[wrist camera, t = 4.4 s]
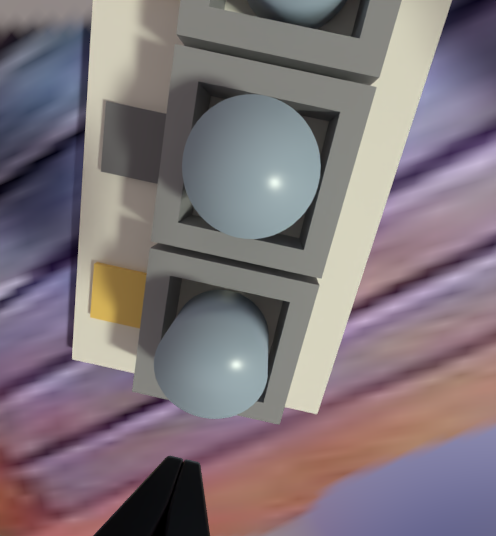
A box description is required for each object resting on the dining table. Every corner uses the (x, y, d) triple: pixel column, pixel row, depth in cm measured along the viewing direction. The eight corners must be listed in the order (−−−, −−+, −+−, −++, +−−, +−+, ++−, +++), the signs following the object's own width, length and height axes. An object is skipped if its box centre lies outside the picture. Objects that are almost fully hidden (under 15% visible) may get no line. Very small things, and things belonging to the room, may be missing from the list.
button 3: (278, 301, 15) (279, 332, 12) (257, 383, 16) (254, 429, 13) (182, 280, 15) (161, 306, 12) (169, 363, 16) (147, 405, 13)
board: (485, -128, 12) (559, -230, 9) (315, 404, 19) (323, 450, 16) (116, -204, 12) (62, -331, 9) (79, 351, 19) (42, 387, 16)
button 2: (323, 124, 13) (337, 111, 10) (295, 235, 14) (300, 251, 11) (211, 100, 13) (193, 80, 10) (193, 212, 14) (173, 223, 11)
